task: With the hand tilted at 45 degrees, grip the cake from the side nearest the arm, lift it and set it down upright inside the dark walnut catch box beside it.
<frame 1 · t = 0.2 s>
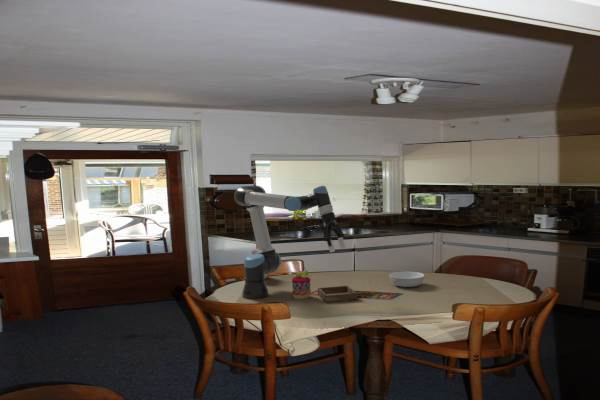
hand: (338, 250, 255), 27 cm above the table, tool tilted 20°, fingers open, 13 cm apart
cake: (301, 297, 264), on the table
cracker box: (260, 279, 311), on the table
catch box: (337, 297, 261), on the table
serving bowl: (406, 286, 283), on the table
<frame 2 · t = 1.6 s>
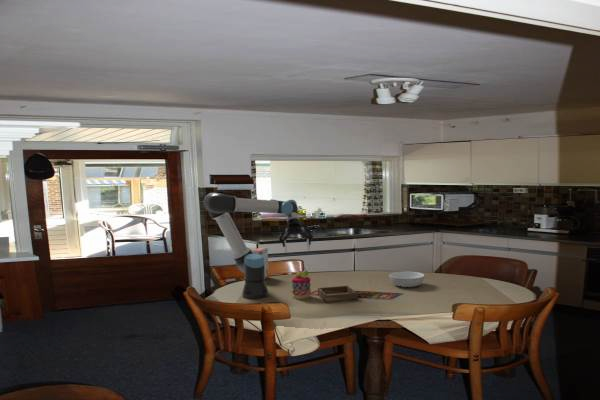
hand: (297, 250, 272), 25 cm above the table, tool tilted 45°, fingers open, 13 cm apart
nothing on the table moved.
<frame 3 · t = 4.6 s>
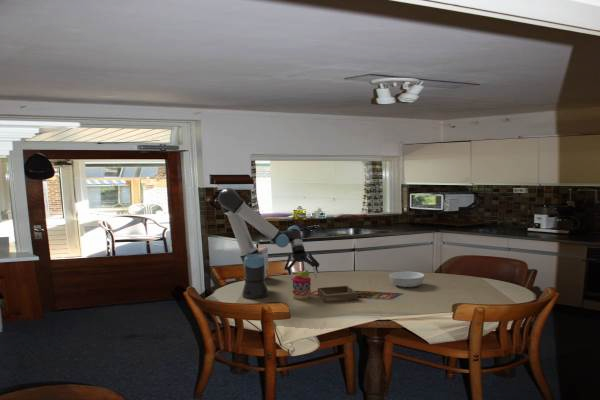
hand: (304, 278, 266), 10 cm above the table, tool tilted 45°, fingers open, 13 cm apart
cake: (301, 297, 264), on the table, touching gripper
everything else where it was.
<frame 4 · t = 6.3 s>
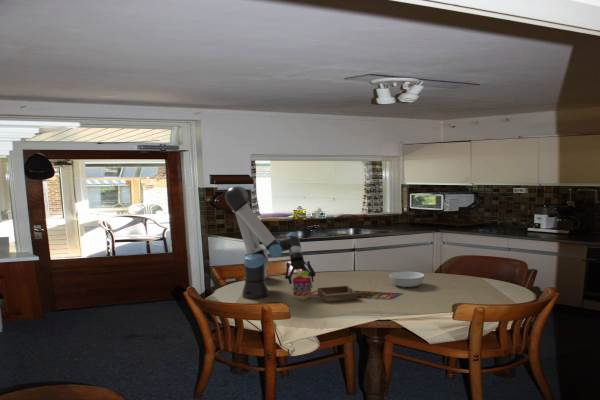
hand: (302, 287, 261), 6 cm above the table, tool tilted 45°, fingers closed on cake, 10 cm apart
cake: (302, 297, 263), on the table, touching gripper
everything else where it was.
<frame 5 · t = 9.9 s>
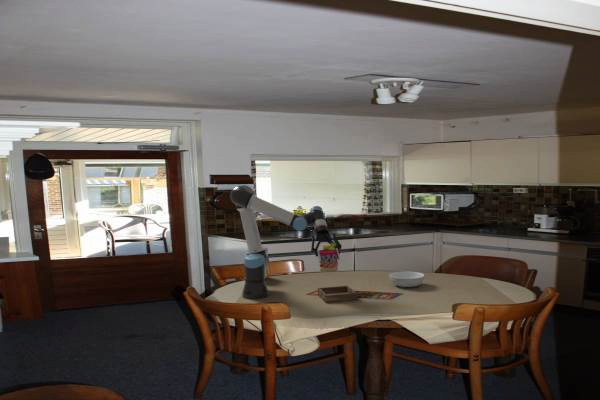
hand: (329, 259, 258), 22 cm above the table, tool tilted 45°, fingers closed on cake, 10 cm apart
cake: (328, 270, 260), point 16 cm above the table, touching gripper
everything else where it was.
when the fingers open (8 cm above the table, at t = 13.7 s): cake drops 1 cm, resting on catch box.
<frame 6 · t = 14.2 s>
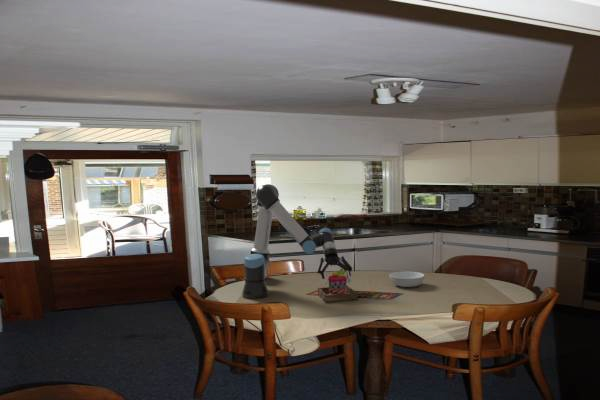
hand: (338, 282, 258), 9 cm above the table, tool tilted 45°, fingers open, 13 cm apart
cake: (337, 296, 260), point 1 cm above the table, touching catch box
everything else where it was.
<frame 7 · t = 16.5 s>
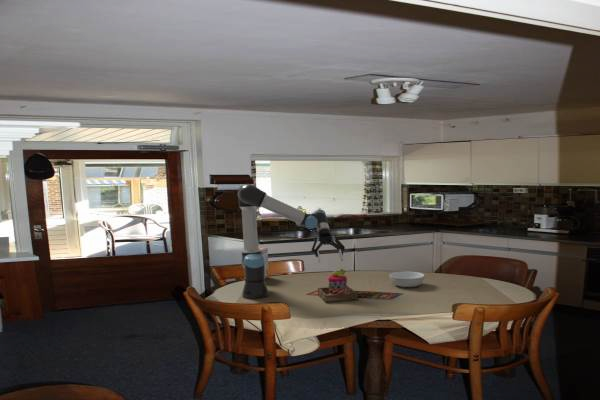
hand: (330, 260, 270), 19 cm above the table, tool tilted 45°, fingers open, 13 cm apart
nothing on the table moved.
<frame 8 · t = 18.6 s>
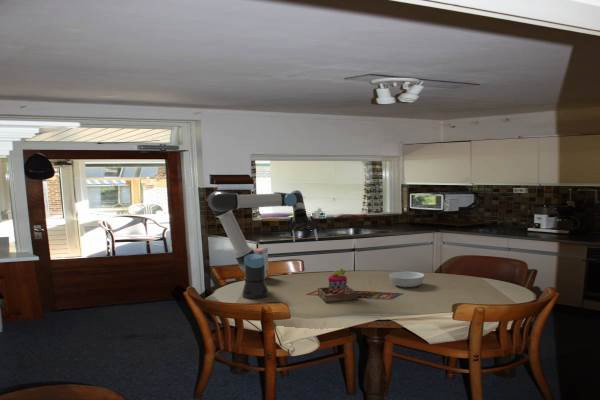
hand: (305, 239, 271), 32 cm above the table, tool tilted 45°, fingers open, 13 cm apart
nothing on the table moved.
at the end: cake inside the target area on the catch box (1.0 cm from its centre), point 0.8 cm above the catch box's base; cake tilted 0°; the gripper is holding nothing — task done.
